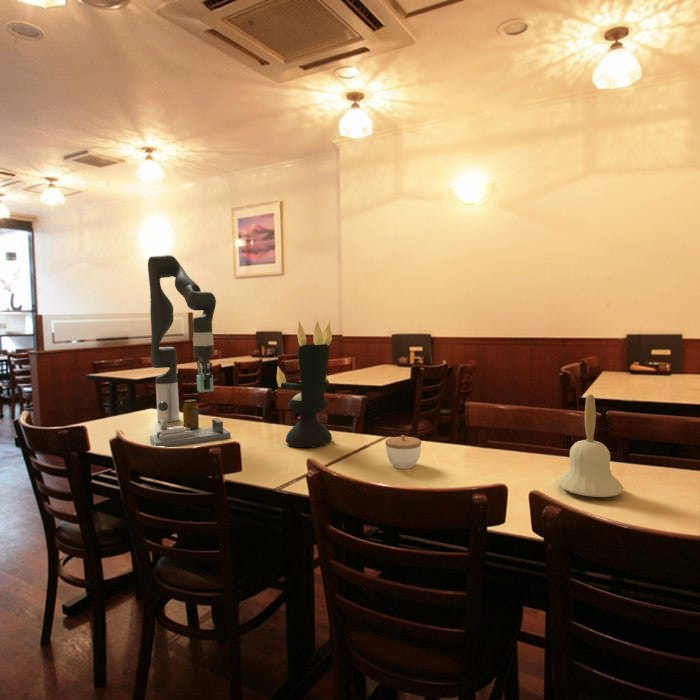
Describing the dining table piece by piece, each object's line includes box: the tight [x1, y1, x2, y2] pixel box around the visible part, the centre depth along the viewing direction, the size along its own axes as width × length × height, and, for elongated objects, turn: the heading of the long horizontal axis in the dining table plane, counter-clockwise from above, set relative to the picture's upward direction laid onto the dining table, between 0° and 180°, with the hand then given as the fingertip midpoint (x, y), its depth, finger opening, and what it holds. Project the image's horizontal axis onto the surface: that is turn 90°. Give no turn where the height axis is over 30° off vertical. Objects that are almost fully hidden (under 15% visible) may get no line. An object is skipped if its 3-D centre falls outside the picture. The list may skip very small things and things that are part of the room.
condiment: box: [182, 399, 204, 430], centre depth 209 cm, size 7×8×12 cm
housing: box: [196, 374, 215, 393], centre depth 193 cm, size 5×5×6 cm
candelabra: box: [276, 319, 333, 449], centre depth 179 cm, size 19×22×45 cm
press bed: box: [149, 418, 231, 448], centre depth 191 cm, size 13×27×6 cm, turn 120°
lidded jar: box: [385, 434, 422, 470], centre depth 153 cm, size 11×11×9 cm
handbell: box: [556, 393, 625, 498], centre depth 127 cm, size 15×15×25 cm
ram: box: [158, 401, 188, 435], centre depth 188 cm, size 4×10×13 cm, turn 120°
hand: (205, 388), depth 193 cm, fingers closed on housing, 5 cm apart
